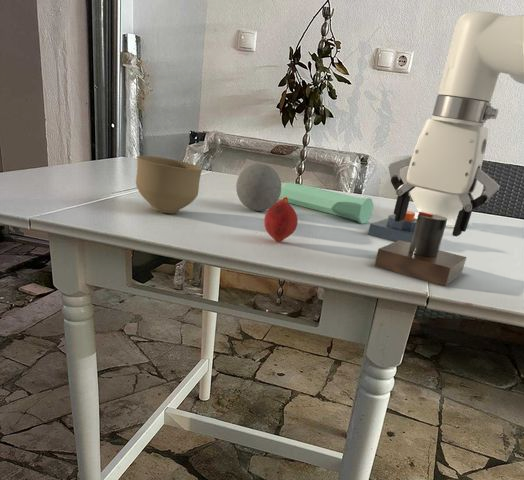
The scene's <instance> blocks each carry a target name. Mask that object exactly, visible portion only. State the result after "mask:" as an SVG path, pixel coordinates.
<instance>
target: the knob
mask: <svg viewBox="0 0 524 480" xmlns="http://www.w3.org/2000/svg"><path fill="white" fill-rule="evenodd" d="M446 222H447V218H445V217H442V216H439V215H434V214H429V213H425V212H419V214H418V217H417V221H416V225H415V229H414V233H413V237H412V241H411V245H410V249H409V251H410V252H412V253H414V254H417V255H421V256H427V257H435V256H437V255H438V251H439V250H440V247H441V243H442V240H443V236H444V232H445V229H446V227H445V226H446Z"/></svg>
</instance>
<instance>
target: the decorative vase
mask: <svg viewBox="0 0 524 480" xmlns="http://www.w3.org/2000/svg"><path fill="white" fill-rule="evenodd" d="M484 187H485V186H484V185H483V184H481V183H480V182H479V181H478V182H477V185H476V187H475V190H474V191H473V192H472V193H471V194H472V196H473V198H474V199H476V198H478V197H479V196H481V195H482V194H483V192H484ZM409 196H410V198H411V199H412V202H413V203H414V205H415V208H416V210H417V212H414V213H415V216H414V218H416V219H417V217H418V214H419V212H425V213H429V214H434V215H439V216H442V217H445V218H447V222H446V226H445V228H454V226H455V223H456V220H457V217H458V213H459V211H460V210H462V208H463V205H462V203H461V201H460V199H459V196H456V195H450V194H446V193H441V192H436V191H432V190H427V189H423V188H418V187H415V188H414V189H413V190H412V191H410V192H409Z"/></svg>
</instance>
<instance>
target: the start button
mask: <svg viewBox="0 0 524 480" xmlns="http://www.w3.org/2000/svg"><path fill="white" fill-rule="evenodd" d="M415 213H416V212H413V211H410V210H407V212H406V216H405V219H404V220H406V221H413V220H414V216H415Z"/></svg>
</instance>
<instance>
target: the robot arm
mask: <svg viewBox="0 0 524 480" xmlns="http://www.w3.org/2000/svg"><path fill="white" fill-rule="evenodd" d="M445 60H446V61H445V63H444V64H445V65H444V69H443V73H442V77H441V80H440V84H439V88H438V92H437V95H436V99H435V103H434V107H433V110H432V115H431V118H426V120H425V122H424V124H423V126H422V129H421V131H420V133H419V136H418V138H417V141H416V144H415V146H414V150H413V152H412V155H411V156H410V157H407V158H403V159H400V160H398V161H393V162H392V163H389V164H388V173H389V176H390V177H389V178H390V183H391V185H392V186H393V188H394V190H395V194H396V196H397V197H396V201H395V205H394V209H393V215H396V216H395V221H397V222H398V221H401V220H404V219H405V216H406V212H407V211H408V209H409V205H410V201H411V195H410V191H412V190H413V189H414V188H415V187H418V188H423V189H427V190H432V191H436V192H441V193H446V194H450V195H456V196H459V199H460V201H461V203H462V205H463V208H462V210H460V211H459V213H458V216H457V217H456V219H455V220H456V223H455V226H454V227H453V230H452V233H451V235H452V236H453V237H459V236H460V235H462V233H465V232H466V231H467V229H468V225H469V222H470V219H471V216H472V213H473V211H474V210H475V209H478V208H479V207H480V206H483V205H484V204H486V203H487V202H488V201H489V200H490V199H491V198H492V197H493V196H494V195H496V193H497V192H498V191H499V189H500V184H498V183H497V181H496V180H494V179H493V178H492V177H491V176H489V175H488V174H487V173H486V172H485V171H483V169H482V166H483V162H484V159H485V158H484V157H485V153H486V147H487V143H488V137H489V127H484V124H486V122H487V121H488V120H491V119H492V120H496V119H497V117H498V115H499V108H494V107H493V106H492V102H491V101H492V98H493V95H494V91H495V88H496V85H497V83H498V82H497V81H498V79H499V75H500V74H501V73H502V74H505V75H509V77H510V78H511V79H512V80H513V81H515V82H516V83H518V84H522V85H524V14H521V15H519V14H518V15H504V14H502V13H498V12H492V11H470V12H466V13H463V14H462V15H461V16H460V17H459V18H458V20H457V22H456V24H455V27H454V30H453V34H452V37H451V41H450V46H449V49H448V53H447V57H446V59H445ZM405 168H408V169H407V171H406V172H407V173H406V181H405V182H404V181H403V179H402V176H401V173H400V172H401V170H402V169H405ZM478 181H479V182H480V183H481V184H483V185H484V186H483V187H484V188H485V190H483V191H482V194H481V196H479V197H478V198H476V199H474V198H473V196H472V194H471V193H472V192H473V191H474V190H475V187H476V185H477V182H478Z"/></svg>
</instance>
